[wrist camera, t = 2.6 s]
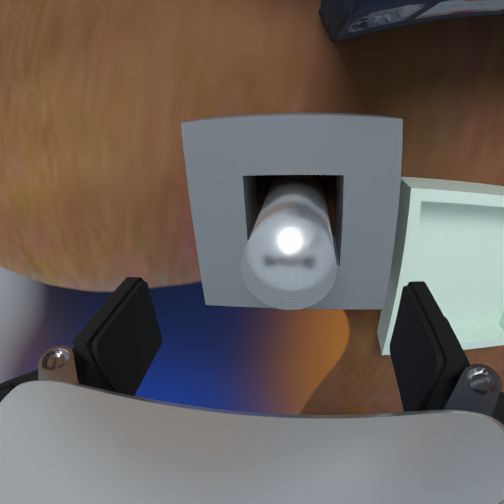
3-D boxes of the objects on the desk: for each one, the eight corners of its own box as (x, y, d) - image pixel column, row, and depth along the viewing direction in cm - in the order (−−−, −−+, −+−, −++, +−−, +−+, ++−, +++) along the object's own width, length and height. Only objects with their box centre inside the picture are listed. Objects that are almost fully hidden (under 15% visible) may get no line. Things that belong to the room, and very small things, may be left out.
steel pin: (325, 170, 21) (339, 226, 12) (324, 225, 23) (333, 310, 14) (266, 171, 21) (236, 225, 13) (269, 225, 23) (244, 308, 14)
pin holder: (383, 115, 18) (402, 119, 14) (373, 274, 24) (383, 309, 20) (204, 117, 20) (180, 122, 16) (221, 272, 26) (205, 304, 22)
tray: (536, 191, 18) (556, 203, 15) (498, 324, 24) (510, 343, 21) (398, 176, 20) (411, 187, 17) (376, 331, 26) (381, 355, 23)
